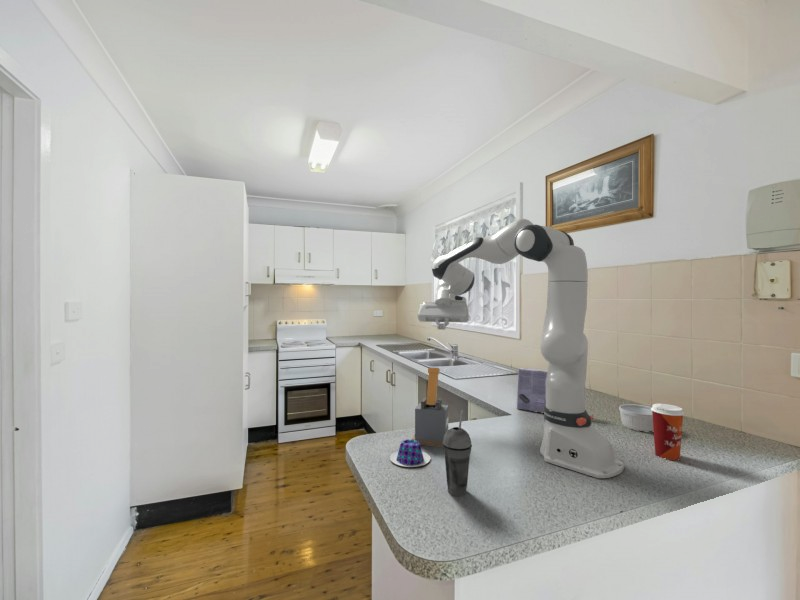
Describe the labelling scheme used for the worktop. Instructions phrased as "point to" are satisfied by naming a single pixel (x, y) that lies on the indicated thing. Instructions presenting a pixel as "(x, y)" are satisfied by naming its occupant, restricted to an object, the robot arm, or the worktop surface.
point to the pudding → (410, 454)
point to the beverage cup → (457, 459)
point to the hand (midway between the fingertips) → (441, 328)
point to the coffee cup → (667, 430)
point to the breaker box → (431, 423)
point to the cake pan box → (531, 389)
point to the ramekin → (637, 417)
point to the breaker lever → (432, 387)
